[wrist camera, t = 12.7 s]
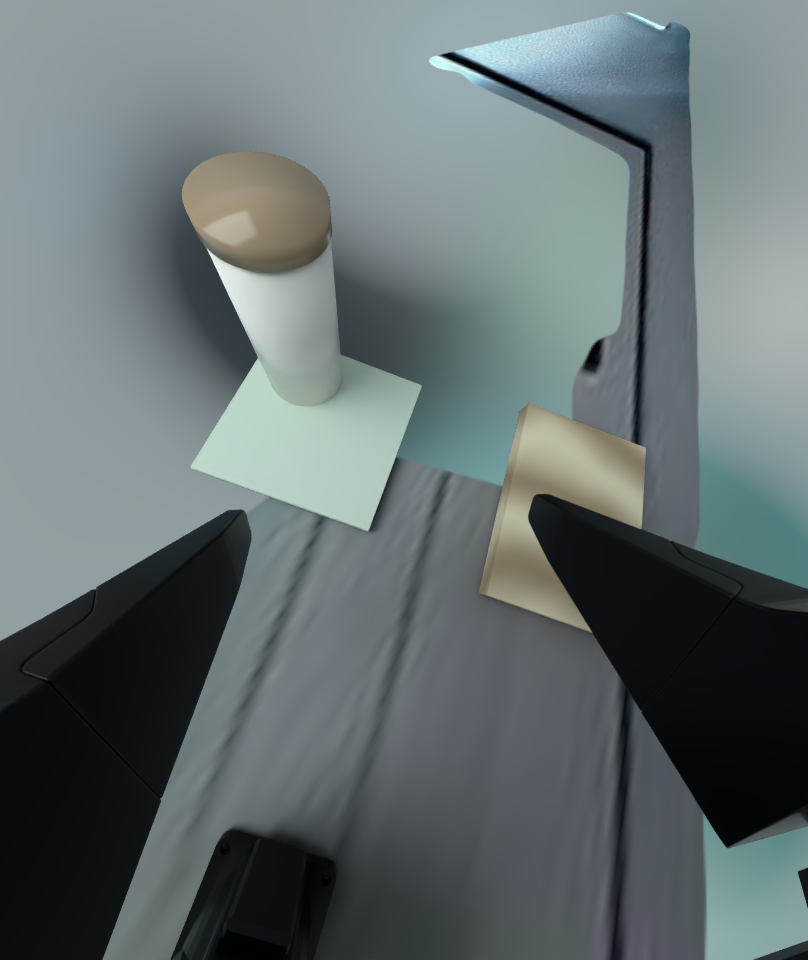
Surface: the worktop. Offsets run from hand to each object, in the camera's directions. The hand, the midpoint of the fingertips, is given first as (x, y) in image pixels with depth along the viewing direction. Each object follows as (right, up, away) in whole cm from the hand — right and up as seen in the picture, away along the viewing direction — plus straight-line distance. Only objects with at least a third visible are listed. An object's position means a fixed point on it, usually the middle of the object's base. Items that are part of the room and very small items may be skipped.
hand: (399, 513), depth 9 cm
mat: (-6, +5, +14) cm, 16 cm away
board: (+13, -2, +15) cm, 20 cm away
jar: (-8, +9, +15) cm, 19 cm away
